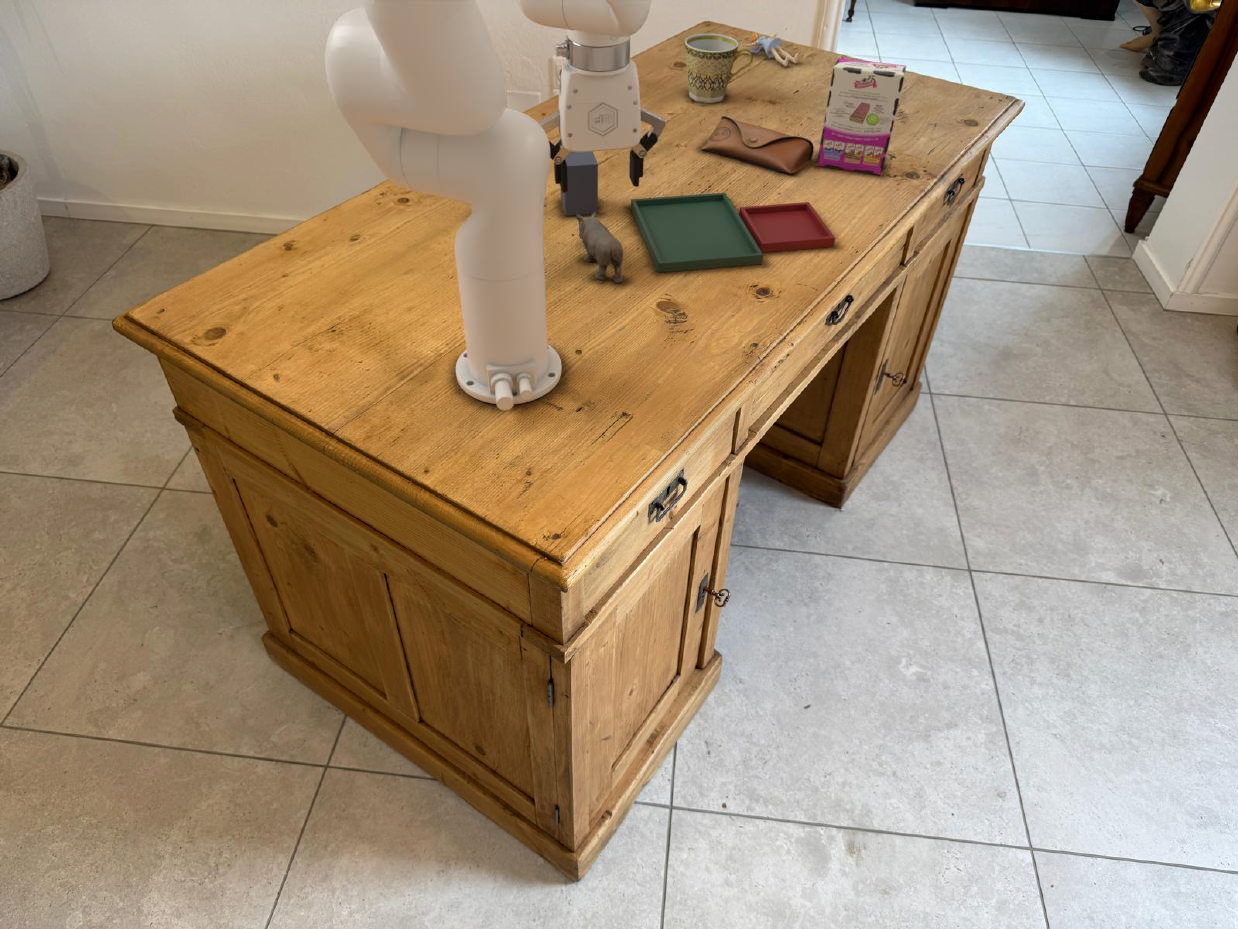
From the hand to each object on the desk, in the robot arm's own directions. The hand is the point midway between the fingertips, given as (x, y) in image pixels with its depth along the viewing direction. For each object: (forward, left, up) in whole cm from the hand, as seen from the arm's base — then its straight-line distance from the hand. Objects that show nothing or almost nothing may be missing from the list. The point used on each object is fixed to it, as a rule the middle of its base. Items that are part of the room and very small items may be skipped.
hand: (598, 184), depth 118 cm
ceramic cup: (+56, -33, -11) cm, 65 cm away
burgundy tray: (+4, -29, -11) cm, 32 cm away
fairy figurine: (+76, -51, -11) cm, 92 cm away
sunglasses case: (+30, -33, -11) cm, 46 cm away
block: (+16, 0, -11) cm, 19 cm away
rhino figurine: (0, 0, -11) cm, 11 cm away
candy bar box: (+24, -48, -11) cm, 54 cm away
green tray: (+5, -15, -11) cm, 19 cm away
